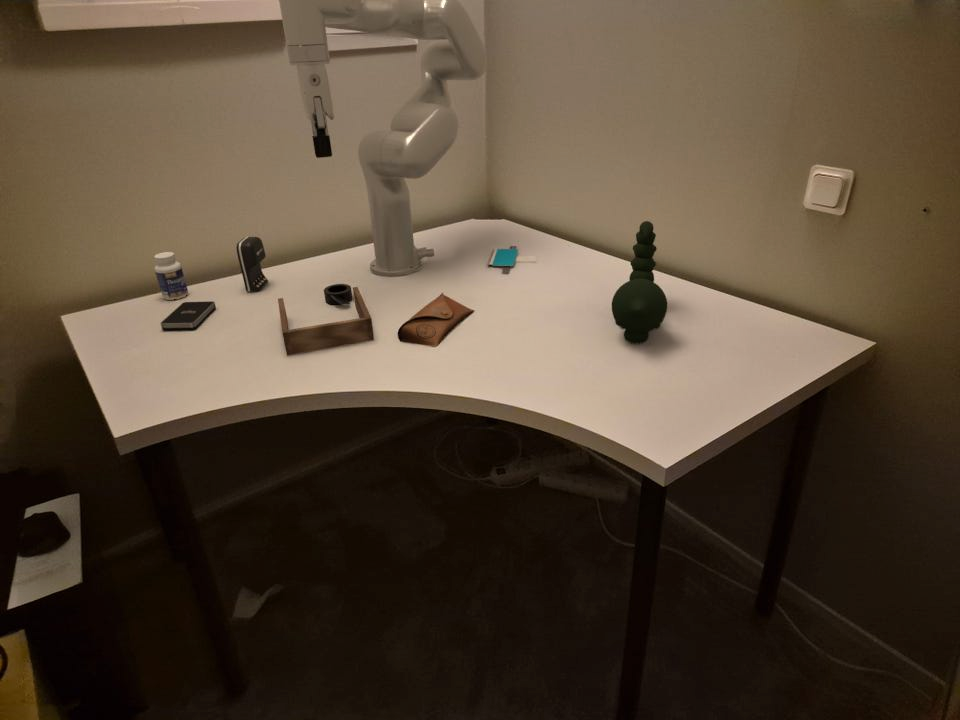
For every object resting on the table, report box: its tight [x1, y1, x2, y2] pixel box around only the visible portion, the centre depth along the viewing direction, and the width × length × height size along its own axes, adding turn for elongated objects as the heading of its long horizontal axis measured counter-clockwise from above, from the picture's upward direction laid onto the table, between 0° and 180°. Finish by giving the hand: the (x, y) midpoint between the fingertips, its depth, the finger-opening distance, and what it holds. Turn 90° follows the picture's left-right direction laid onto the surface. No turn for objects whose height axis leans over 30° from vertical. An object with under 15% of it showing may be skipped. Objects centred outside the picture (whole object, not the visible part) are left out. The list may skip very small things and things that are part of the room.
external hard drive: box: [160, 300, 217, 332], centre depth 129 cm, size 7×11×2 cm, turn 178°
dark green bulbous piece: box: [611, 220, 668, 344], centre depth 115 cm, size 10×19×26 cm
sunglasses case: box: [397, 292, 475, 348], centre depth 123 cm, size 18×7×7 cm
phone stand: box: [487, 245, 538, 275], centre depth 154 cm, size 20×12×2 cm, turn 172°
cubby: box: [277, 286, 375, 356], centre depth 122 cm, size 16×17×4 cm
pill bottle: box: [154, 251, 189, 301], centre depth 139 cm, size 5×5×10 cm
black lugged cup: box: [323, 283, 354, 307], centre depth 135 cm, size 8×10×3 cm
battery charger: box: [236, 235, 269, 293], centre depth 141 cm, size 7×4×11 cm, turn 176°
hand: (323, 156), depth 127 cm, fingers closed
